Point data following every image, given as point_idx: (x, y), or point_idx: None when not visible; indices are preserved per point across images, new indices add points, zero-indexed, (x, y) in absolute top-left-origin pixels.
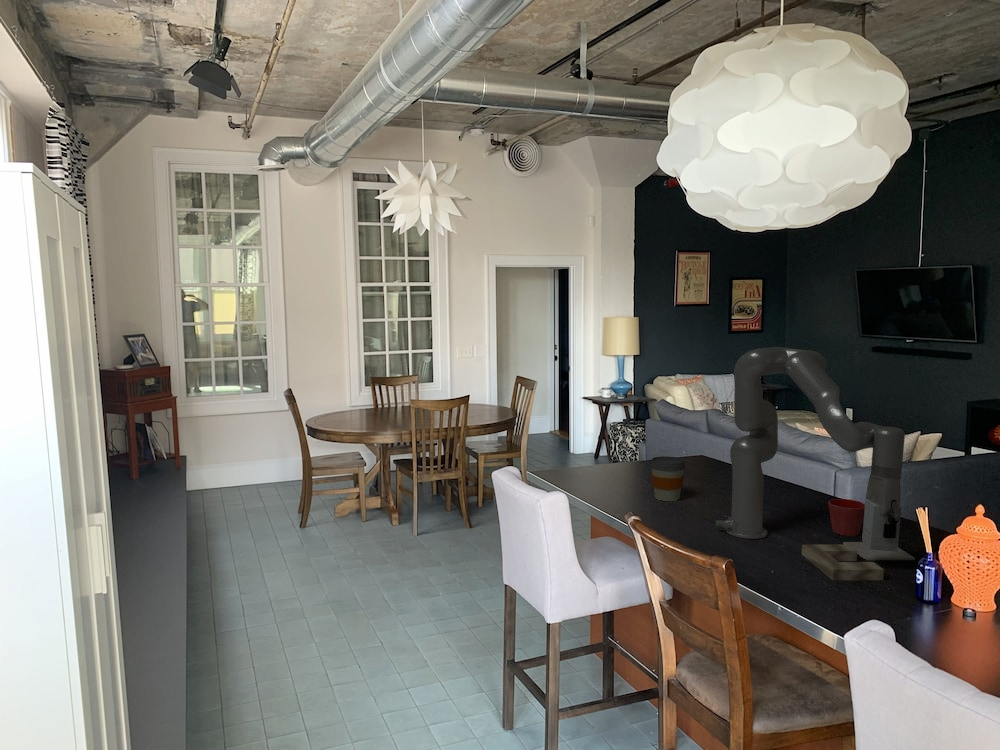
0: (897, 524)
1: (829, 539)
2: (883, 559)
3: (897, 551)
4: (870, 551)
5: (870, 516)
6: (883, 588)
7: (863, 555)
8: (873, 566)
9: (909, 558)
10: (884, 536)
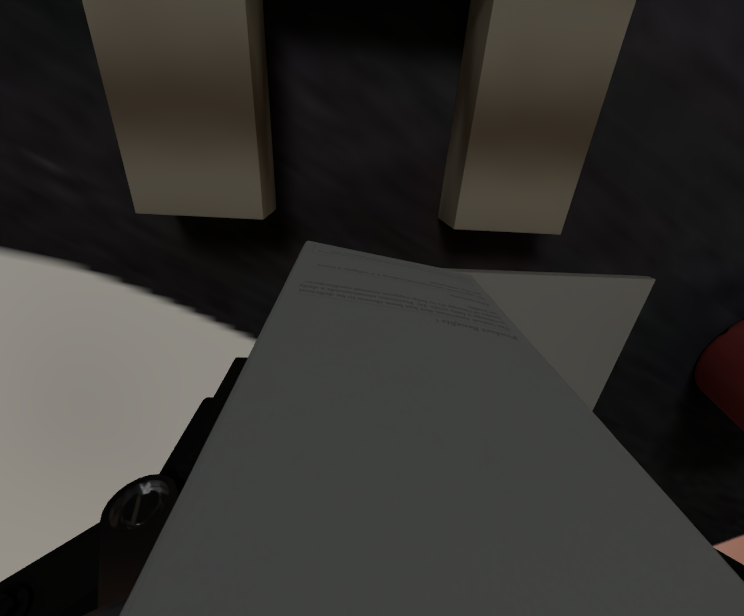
0: None
1: (726, 245)
2: None
3: None
4: None
5: (343, 421)
6: (35, 134)
7: (475, 277)
8: (177, 174)
9: None
10: (234, 364)
